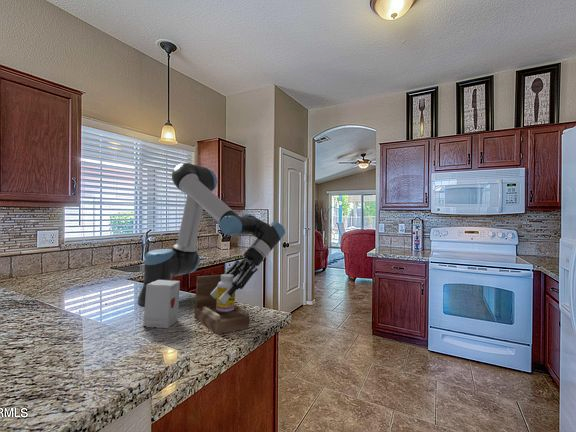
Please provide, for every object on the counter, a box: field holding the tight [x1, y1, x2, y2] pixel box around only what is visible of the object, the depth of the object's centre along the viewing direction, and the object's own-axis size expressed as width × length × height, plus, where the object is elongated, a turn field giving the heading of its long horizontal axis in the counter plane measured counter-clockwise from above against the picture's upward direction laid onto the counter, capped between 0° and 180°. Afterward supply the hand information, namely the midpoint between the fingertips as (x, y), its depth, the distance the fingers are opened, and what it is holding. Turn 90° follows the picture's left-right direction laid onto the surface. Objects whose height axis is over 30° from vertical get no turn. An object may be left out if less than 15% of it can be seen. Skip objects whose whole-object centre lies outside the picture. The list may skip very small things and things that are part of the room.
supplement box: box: [142, 280, 181, 329], centre depth 105 cm, size 9×9×15 cm
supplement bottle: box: [216, 273, 236, 312], centre depth 108 cm, size 7×7×13 cm
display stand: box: [193, 274, 251, 335], centre depth 110 cm, size 20×13×16 cm, turn 39°
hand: (216, 298), depth 106 cm, fingers closed on supplement bottle, 7 cm apart
